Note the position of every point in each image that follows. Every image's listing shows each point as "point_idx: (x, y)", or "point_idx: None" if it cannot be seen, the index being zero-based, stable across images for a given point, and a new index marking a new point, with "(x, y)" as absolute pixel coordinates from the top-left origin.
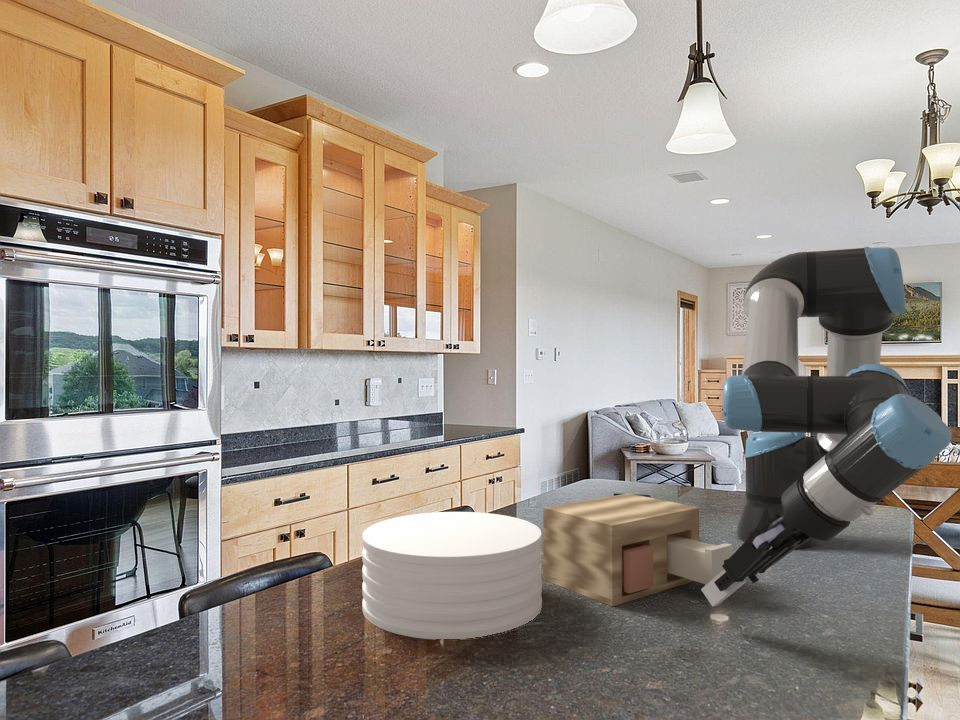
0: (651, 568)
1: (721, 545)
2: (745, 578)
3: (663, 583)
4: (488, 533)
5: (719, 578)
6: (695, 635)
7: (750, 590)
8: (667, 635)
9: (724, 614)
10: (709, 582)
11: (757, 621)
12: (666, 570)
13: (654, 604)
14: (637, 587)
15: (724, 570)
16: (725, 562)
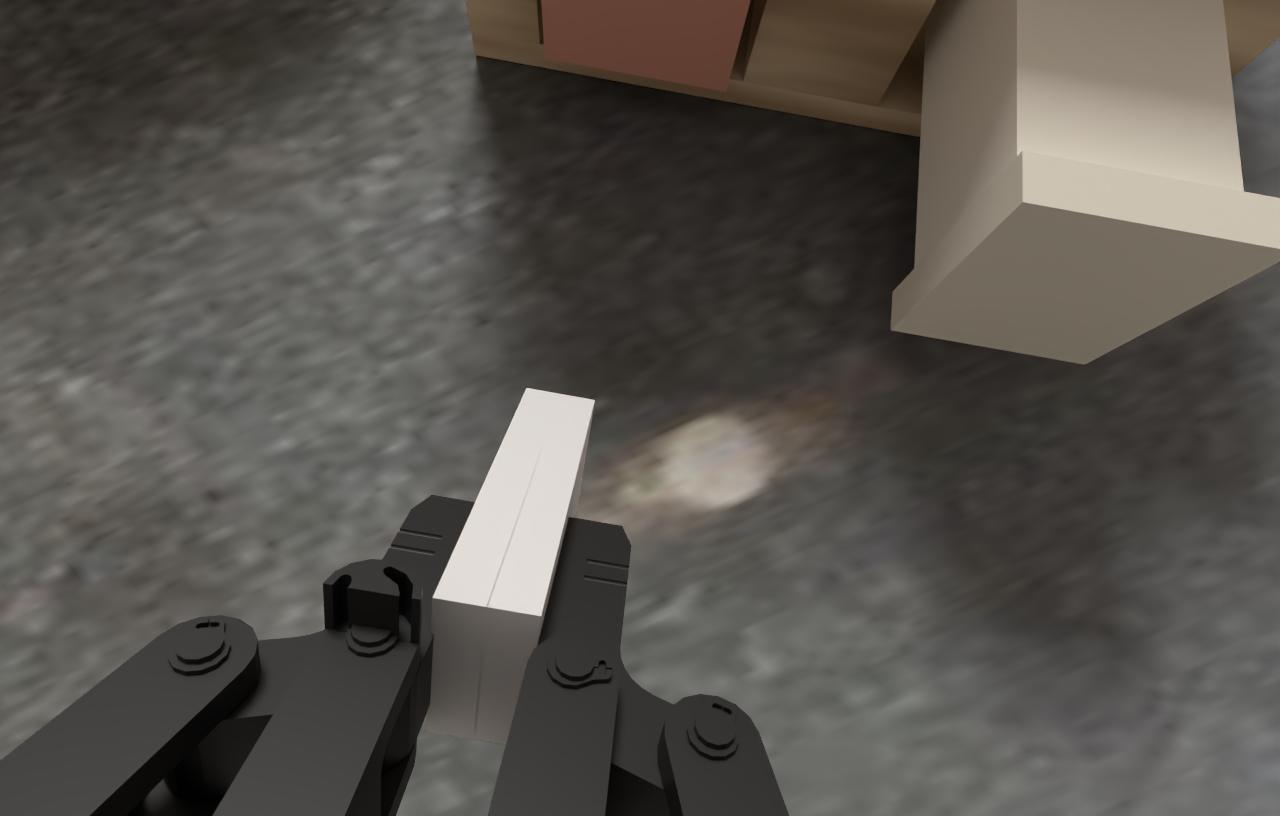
0: (730, 11)
1: (1207, 201)
2: (505, 730)
3: (850, 97)
4: None
5: (394, 543)
6: (399, 481)
7: (1191, 419)
8: (310, 383)
9: (768, 465)
10: (505, 435)
11: (805, 634)
12: (901, 55)
13: (640, 170)
14: (603, 54)
15: (458, 549)
16: (93, 687)
